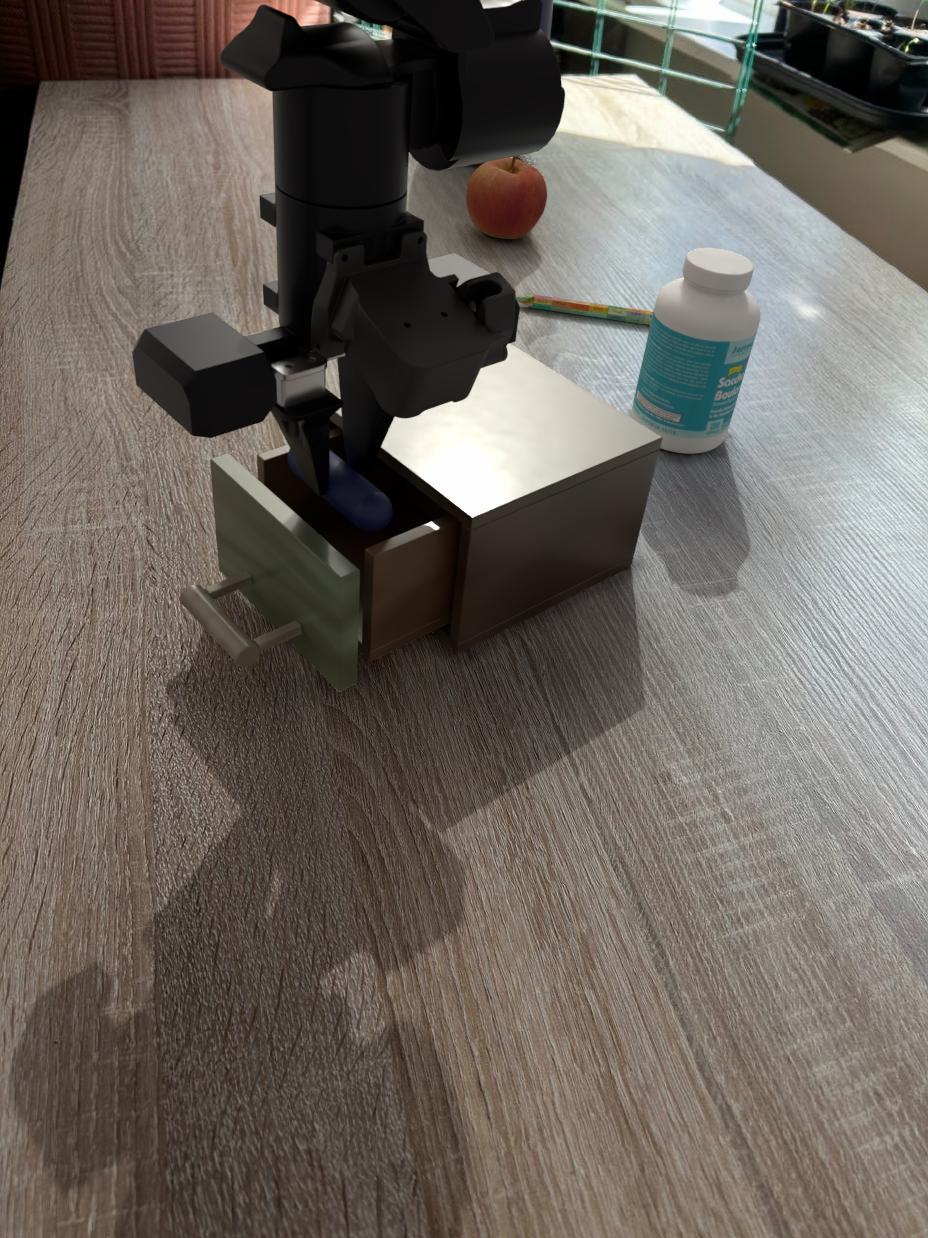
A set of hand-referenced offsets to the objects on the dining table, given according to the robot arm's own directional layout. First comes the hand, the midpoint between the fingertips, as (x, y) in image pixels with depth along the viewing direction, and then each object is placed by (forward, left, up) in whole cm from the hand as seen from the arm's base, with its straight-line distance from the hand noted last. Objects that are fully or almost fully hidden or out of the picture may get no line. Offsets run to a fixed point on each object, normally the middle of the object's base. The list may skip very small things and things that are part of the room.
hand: (337, 484), depth 56 cm
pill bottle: (+28, +19, -9) cm, 35 cm away
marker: (0, 0, -1) cm, 1 cm away
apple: (+22, +57, -9) cm, 62 cm away
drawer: (+1, 0, -8) cm, 8 cm away
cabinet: (+9, +5, -9) cm, 14 cm away
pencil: (+28, +38, -9) cm, 48 cm away
